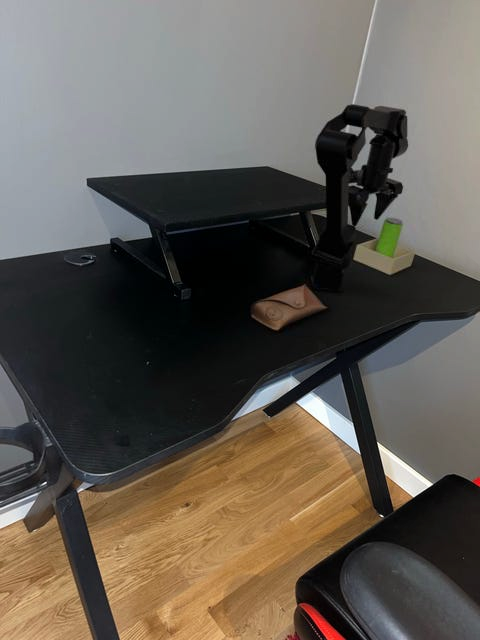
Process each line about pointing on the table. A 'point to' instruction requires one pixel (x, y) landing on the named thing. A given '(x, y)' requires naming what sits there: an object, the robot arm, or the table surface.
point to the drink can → (389, 237)
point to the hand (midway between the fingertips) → (365, 222)
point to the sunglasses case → (286, 307)
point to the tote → (383, 257)
